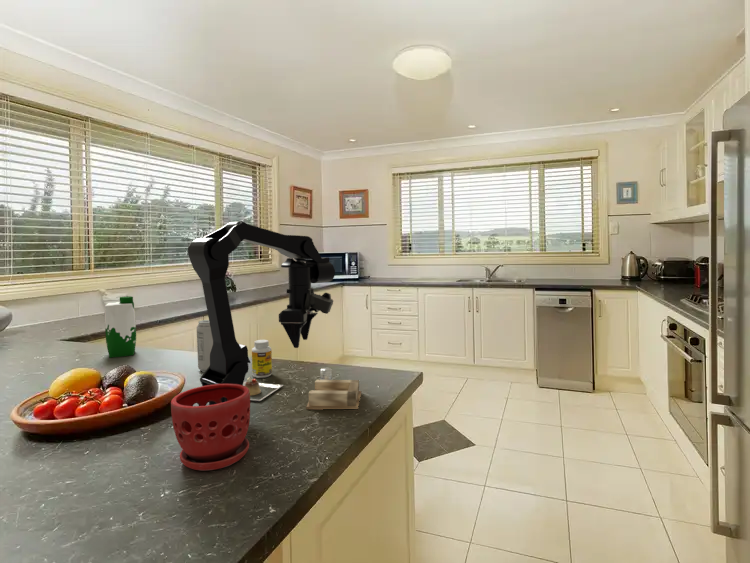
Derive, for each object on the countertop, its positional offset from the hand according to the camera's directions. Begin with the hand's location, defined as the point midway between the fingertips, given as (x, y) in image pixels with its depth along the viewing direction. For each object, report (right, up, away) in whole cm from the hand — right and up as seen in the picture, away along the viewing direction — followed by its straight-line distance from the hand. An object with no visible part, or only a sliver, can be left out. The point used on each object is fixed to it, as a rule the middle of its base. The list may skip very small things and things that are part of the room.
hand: (301, 343), depth 113 cm
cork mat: (+10, -13, -8) cm, 18 cm away
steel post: (+6, -12, +3) cm, 14 cm away
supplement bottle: (-13, -11, +12) cm, 21 cm away
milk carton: (-69, -9, +37) cm, 78 cm away
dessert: (-12, -13, -2) cm, 18 cm away
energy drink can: (-31, -11, +18) cm, 37 cm away
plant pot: (-9, -16, -36) cm, 40 cm away
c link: (+10, -12, -8) cm, 18 cm away
